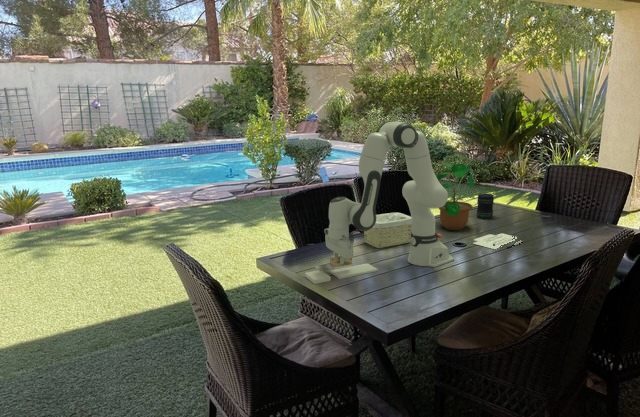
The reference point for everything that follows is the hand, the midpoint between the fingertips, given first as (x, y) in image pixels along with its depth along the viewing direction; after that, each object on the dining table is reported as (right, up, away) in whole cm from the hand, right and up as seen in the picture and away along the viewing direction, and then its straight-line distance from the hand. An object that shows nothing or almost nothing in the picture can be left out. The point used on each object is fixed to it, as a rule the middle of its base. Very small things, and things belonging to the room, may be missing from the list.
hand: (339, 262), depth 214 cm
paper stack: (+88, +6, +42) cm, 98 cm away
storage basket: (+29, +5, +45) cm, 53 cm away
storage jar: (+98, +18, +91) cm, 135 cm away
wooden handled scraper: (-2, -2, -1) cm, 3 cm away
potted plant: (+68, +12, +69) cm, 98 cm away
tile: (-6, -6, -2) cm, 9 cm away
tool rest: (+7, -5, +3) cm, 9 cm away
